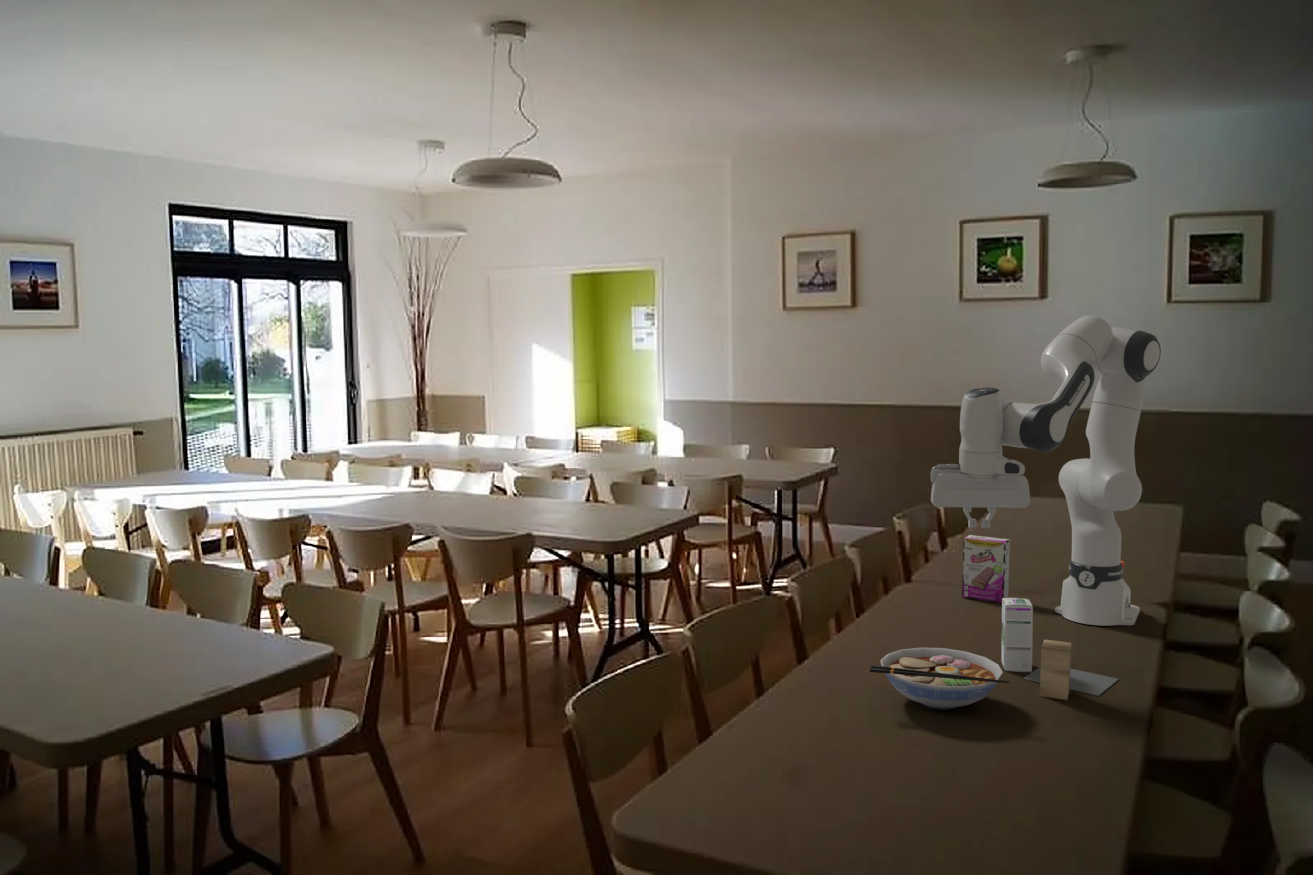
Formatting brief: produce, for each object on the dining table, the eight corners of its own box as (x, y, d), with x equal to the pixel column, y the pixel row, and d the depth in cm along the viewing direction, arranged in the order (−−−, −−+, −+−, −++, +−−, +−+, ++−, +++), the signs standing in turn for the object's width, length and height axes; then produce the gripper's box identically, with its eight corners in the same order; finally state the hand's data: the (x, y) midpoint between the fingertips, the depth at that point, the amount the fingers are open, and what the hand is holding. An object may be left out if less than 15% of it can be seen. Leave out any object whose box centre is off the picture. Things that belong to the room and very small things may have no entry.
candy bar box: (961, 598, 271) (962, 537, 269) (966, 593, 275) (967, 534, 273) (1004, 604, 265) (1005, 542, 263) (1008, 599, 269) (1010, 538, 267)
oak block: (1042, 687, 204) (1044, 639, 203) (1069, 691, 202) (1071, 642, 201) (1039, 695, 200) (1041, 646, 199) (1067, 699, 198) (1068, 650, 197)
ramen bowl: (1008, 689, 204) (1009, 649, 203) (1007, 733, 182) (1009, 689, 181) (881, 676, 212) (881, 638, 211) (866, 717, 190) (867, 674, 189)
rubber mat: (1045, 664, 218) (1045, 663, 218) (1118, 679, 208) (1118, 678, 208) (1023, 679, 209) (1023, 678, 209) (1098, 696, 199) (1098, 695, 199)
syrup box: (1032, 672, 213) (1034, 605, 211) (1003, 671, 214) (1005, 604, 213) (1028, 663, 219) (1030, 597, 217) (999, 662, 220) (1001, 596, 218)
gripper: (932, 465, 216) (931, 529, 217) (1032, 466, 213) (1030, 531, 215) (928, 461, 222) (927, 524, 224) (1026, 462, 219) (1024, 525, 221)
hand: (979, 527), depth 219 cm, fingers closed
